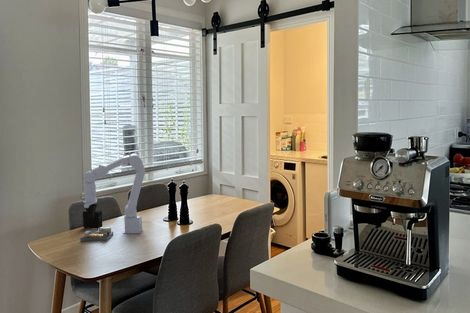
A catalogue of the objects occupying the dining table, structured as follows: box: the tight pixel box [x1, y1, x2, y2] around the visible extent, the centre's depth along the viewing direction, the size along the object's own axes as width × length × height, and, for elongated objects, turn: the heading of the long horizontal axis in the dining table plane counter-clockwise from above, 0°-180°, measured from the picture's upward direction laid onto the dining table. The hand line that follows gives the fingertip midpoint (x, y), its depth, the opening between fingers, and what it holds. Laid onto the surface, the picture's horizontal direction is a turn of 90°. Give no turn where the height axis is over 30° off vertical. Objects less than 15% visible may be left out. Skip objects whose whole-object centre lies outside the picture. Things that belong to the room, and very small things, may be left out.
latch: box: [83, 230, 92, 235], centre depth 216 cm, size 2×4×2 cm, turn 0°
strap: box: [82, 234, 108, 237], centre depth 215 cm, size 12×2×1 cm, turn 90°
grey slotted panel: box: [80, 226, 114, 243], centre depth 218 cm, size 14×11×4 cm
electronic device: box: [82, 209, 103, 230], centre depth 239 cm, size 4×10×10 cm, turn 78°
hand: (91, 217), depth 223 cm, fingers closed
